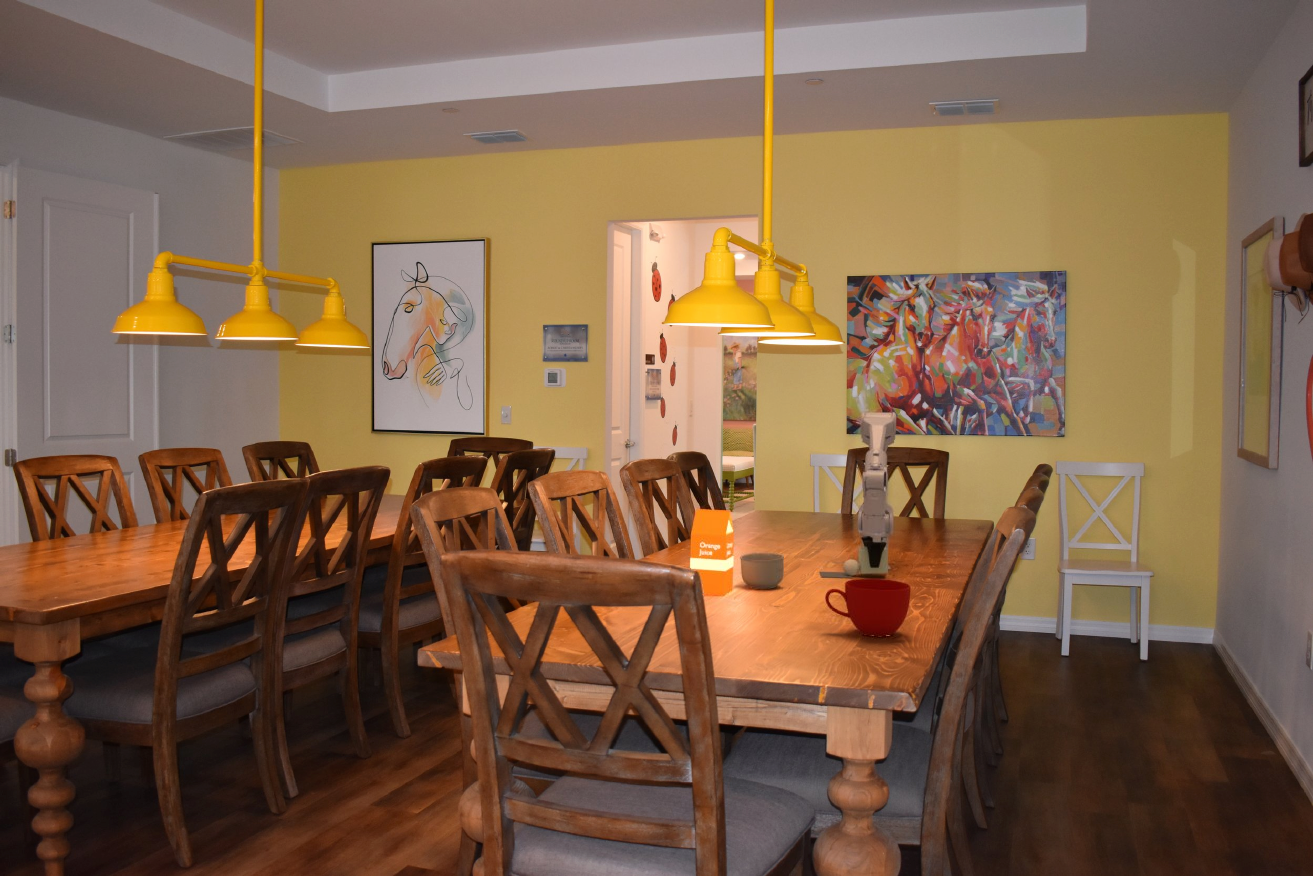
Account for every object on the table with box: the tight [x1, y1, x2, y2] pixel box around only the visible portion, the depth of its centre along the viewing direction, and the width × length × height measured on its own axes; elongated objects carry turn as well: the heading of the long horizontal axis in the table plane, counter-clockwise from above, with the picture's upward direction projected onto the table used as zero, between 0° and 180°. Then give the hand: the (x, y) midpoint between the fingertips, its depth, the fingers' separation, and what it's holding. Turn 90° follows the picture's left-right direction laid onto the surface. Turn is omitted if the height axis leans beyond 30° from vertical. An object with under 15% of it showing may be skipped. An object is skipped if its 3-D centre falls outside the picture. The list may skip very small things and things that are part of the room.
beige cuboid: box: [857, 546, 889, 575], centre depth 275 cm, size 7×6×6 cm
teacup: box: [739, 552, 785, 590], centre depth 259 cm, size 14×11×8 cm
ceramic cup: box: [824, 578, 912, 636], centre depth 208 cm, size 13×17×10 cm
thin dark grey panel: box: [819, 571, 853, 579], centre depth 276 cm, size 8×8×1 cm
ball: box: [842, 558, 860, 577], centre depth 275 cm, size 4×4×4 cm
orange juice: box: [689, 508, 735, 597], centre depth 250 cm, size 8×9×20 cm
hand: (873, 565), depth 275 cm, fingers closed on beige cuboid, 6 cm apart
